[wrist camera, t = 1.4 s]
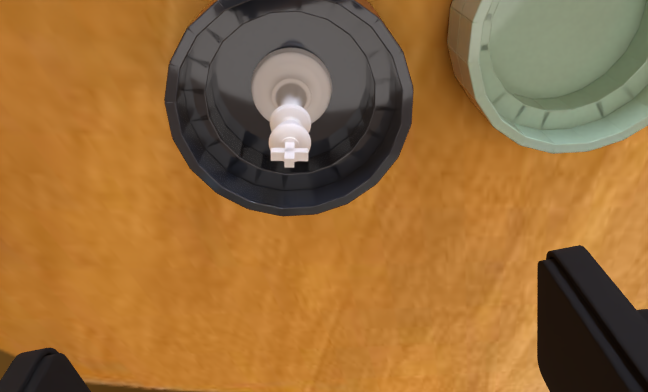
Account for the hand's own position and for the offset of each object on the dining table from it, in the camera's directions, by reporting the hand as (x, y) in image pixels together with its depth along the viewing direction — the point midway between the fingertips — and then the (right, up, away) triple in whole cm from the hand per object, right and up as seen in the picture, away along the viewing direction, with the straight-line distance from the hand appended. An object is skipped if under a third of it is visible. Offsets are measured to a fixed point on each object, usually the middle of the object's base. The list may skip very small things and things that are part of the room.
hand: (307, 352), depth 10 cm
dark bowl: (-2, +10, +21) cm, 23 cm away
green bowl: (+14, +14, +19) cm, 28 cm away
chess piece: (-2, +10, +21) cm, 23 cm away
